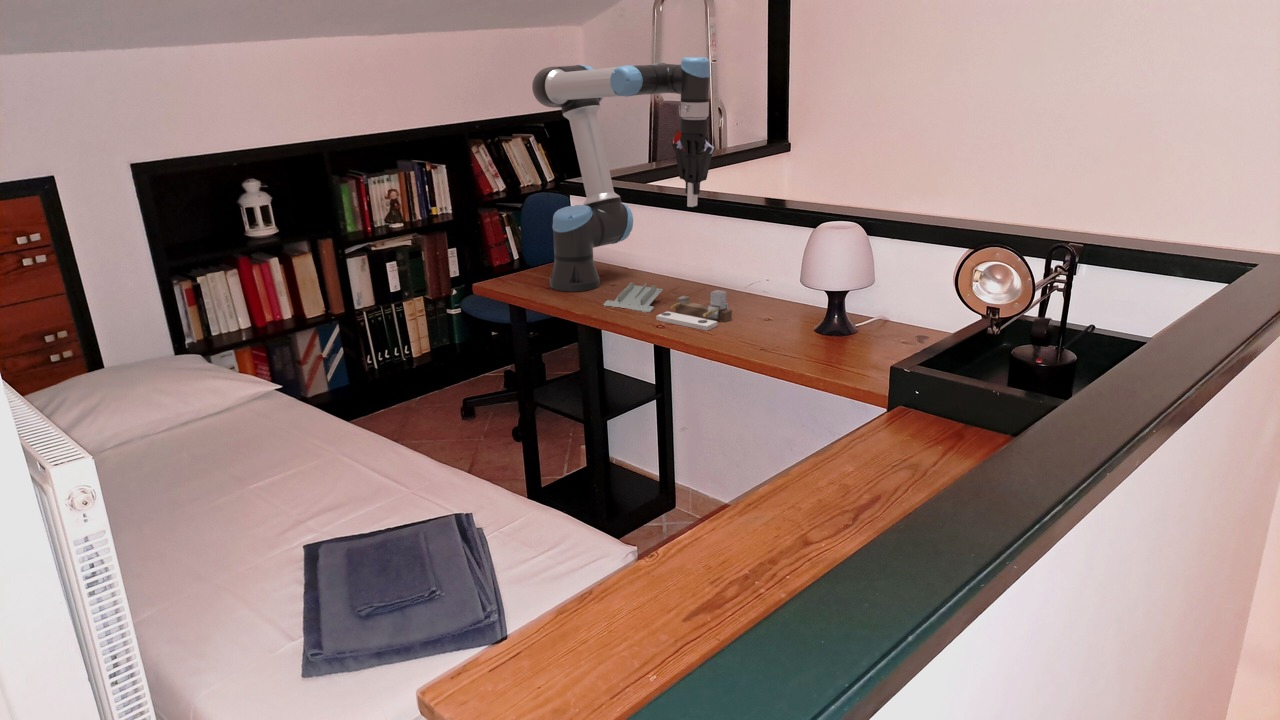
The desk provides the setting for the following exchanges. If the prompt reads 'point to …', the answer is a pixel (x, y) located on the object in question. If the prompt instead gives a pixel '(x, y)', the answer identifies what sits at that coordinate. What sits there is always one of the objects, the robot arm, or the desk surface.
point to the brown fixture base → (698, 309)
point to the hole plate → (686, 320)
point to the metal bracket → (636, 298)
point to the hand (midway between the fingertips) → (692, 205)
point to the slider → (716, 304)
